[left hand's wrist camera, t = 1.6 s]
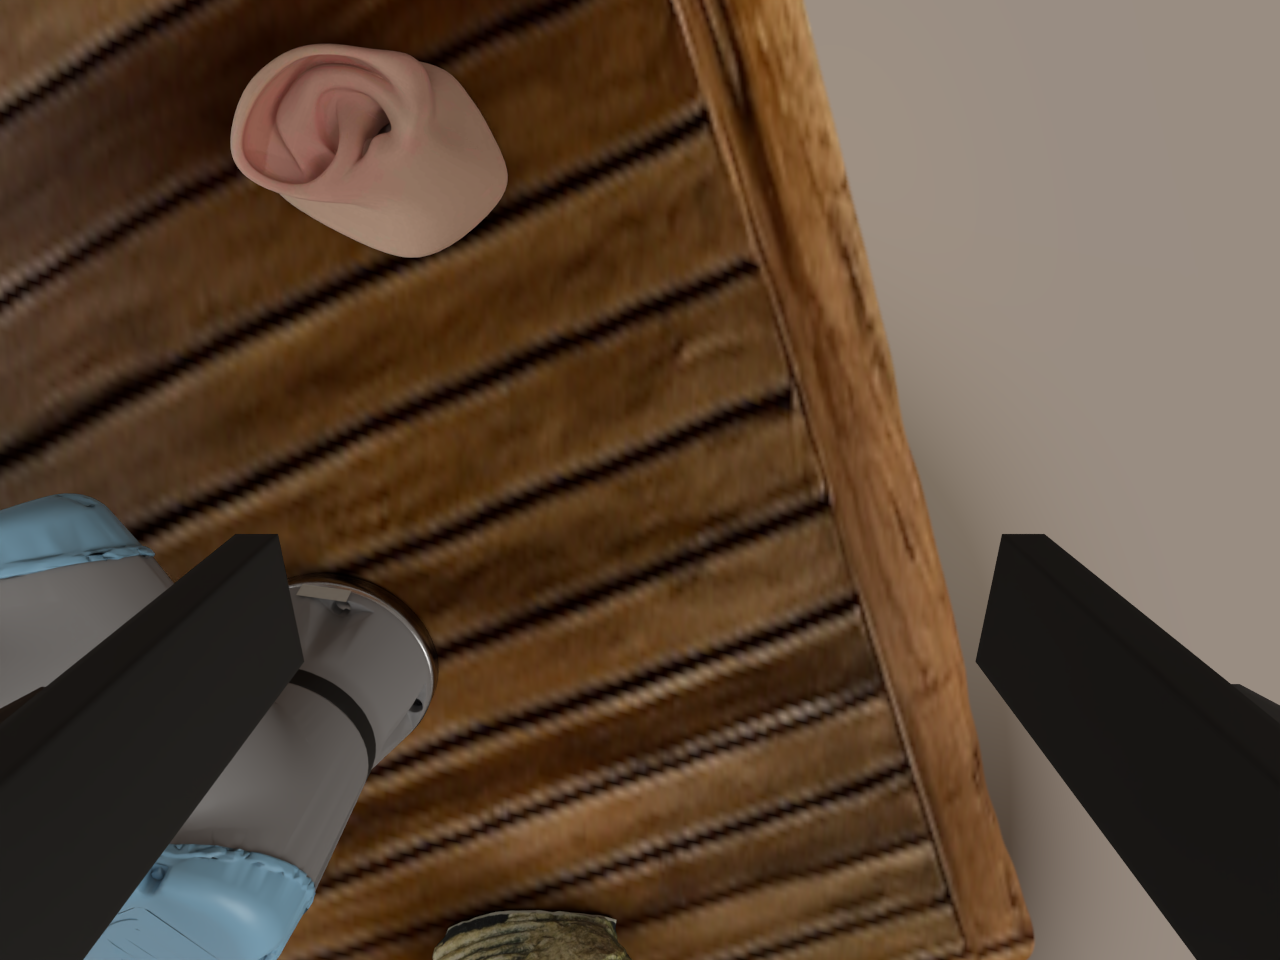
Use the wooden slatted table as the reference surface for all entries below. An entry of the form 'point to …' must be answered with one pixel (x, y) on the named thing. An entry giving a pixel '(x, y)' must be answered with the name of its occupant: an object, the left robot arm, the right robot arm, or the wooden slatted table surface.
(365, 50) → the anatomical model
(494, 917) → the fossil
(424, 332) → the wooden slatted table surface
